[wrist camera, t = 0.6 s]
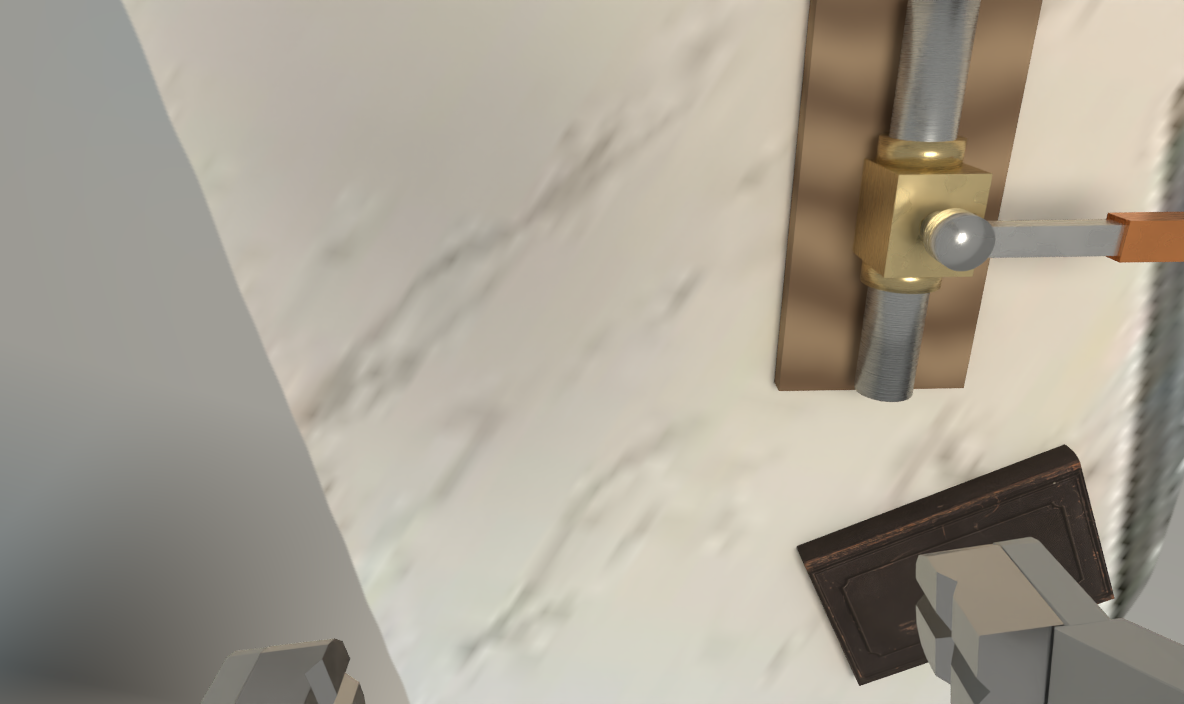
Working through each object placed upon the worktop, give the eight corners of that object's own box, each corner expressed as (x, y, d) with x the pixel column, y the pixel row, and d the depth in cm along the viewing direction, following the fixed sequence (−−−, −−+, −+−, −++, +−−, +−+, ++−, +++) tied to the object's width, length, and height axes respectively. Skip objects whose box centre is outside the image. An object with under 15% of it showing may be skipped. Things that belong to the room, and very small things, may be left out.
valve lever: (919, 261, 45) (933, 271, 44) (928, 208, 44) (943, 216, 42) (1195, 257, 46) (1221, 267, 44) (1212, 204, 44) (1239, 212, 43)
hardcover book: (1098, 580, 68) (1114, 598, 66) (851, 666, 72) (859, 686, 70) (1061, 440, 62) (1078, 454, 60) (794, 541, 66) (801, 559, 64)
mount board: (812, -20, 48) (818, -22, 46) (1033, -23, 48) (1047, -24, 47) (774, 382, 59) (779, 391, 58) (954, 379, 59) (963, 388, 58)
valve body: (881, -4, 47) (938, -9, 40) (971, -5, 48) (1044, -10, 40) (833, 374, 58) (871, 427, 50) (907, 373, 58) (956, 426, 50)
